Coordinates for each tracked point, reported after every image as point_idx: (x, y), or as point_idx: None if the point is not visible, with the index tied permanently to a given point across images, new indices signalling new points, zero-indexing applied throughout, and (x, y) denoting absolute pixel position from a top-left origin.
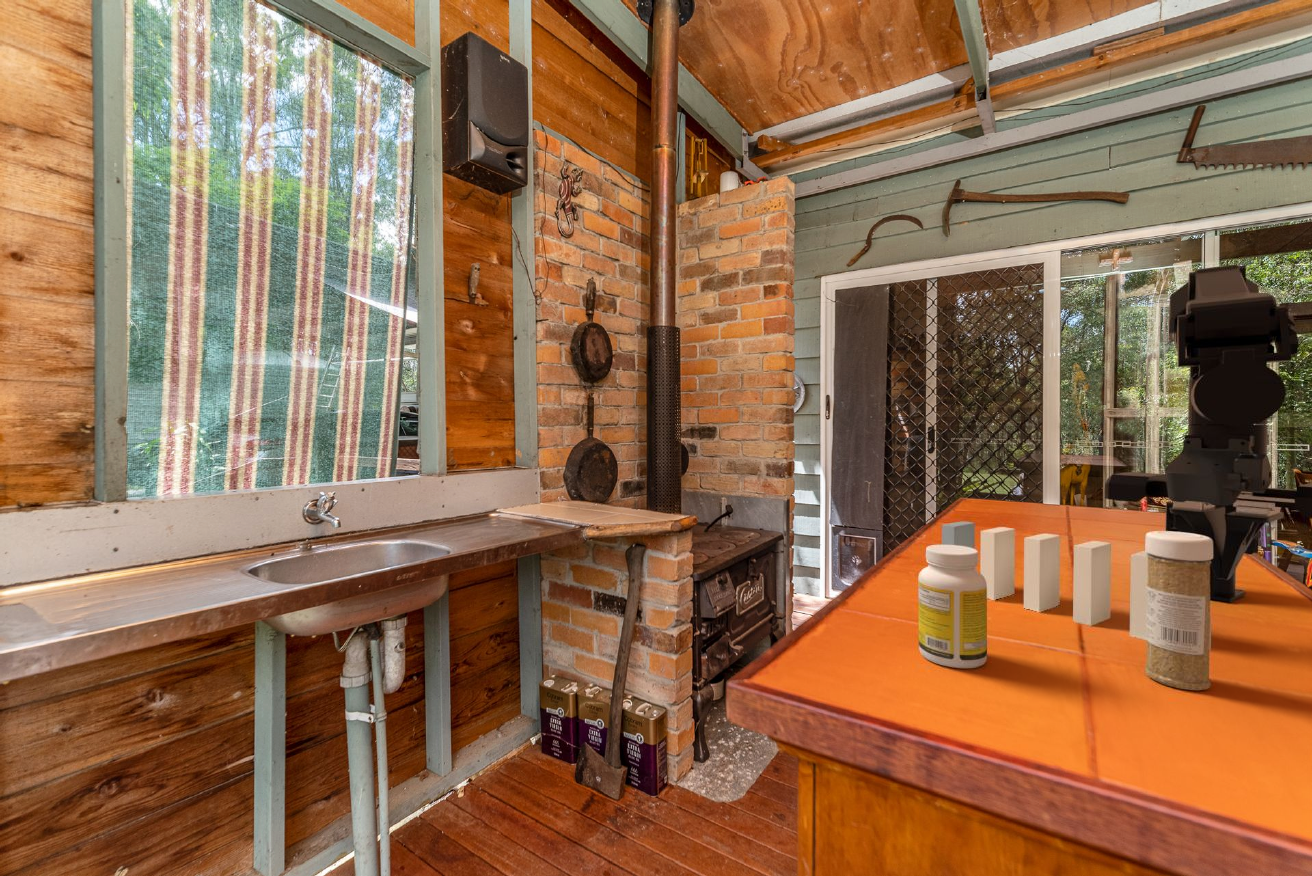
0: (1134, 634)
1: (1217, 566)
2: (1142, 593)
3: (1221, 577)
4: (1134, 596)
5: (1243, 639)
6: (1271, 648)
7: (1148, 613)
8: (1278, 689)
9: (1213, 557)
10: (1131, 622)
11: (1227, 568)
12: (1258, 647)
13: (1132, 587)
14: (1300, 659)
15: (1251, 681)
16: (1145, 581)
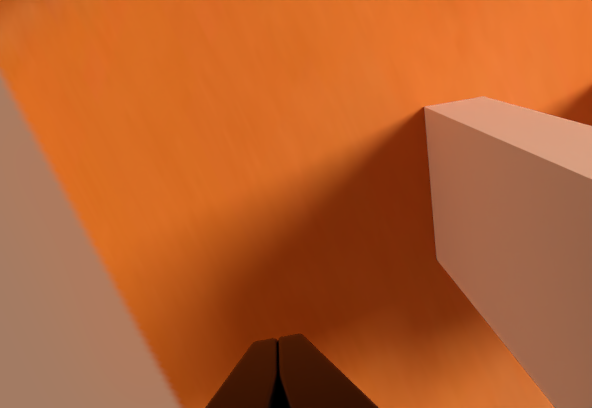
0: (473, 100)
1: (294, 361)
2: (532, 134)
3: (278, 340)
4: (552, 123)
5: None
6: None
7: None
8: (27, 19)
9: (321, 394)
10: (502, 104)
11: (244, 371)
12: None
13: (587, 127)
14: (151, 351)
15: (93, 14)
16: (556, 147)
